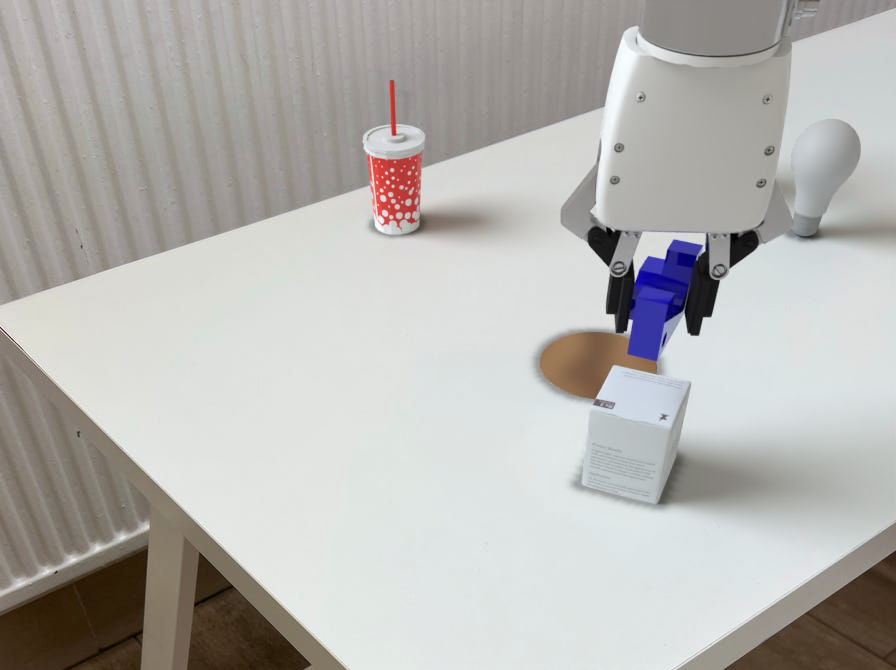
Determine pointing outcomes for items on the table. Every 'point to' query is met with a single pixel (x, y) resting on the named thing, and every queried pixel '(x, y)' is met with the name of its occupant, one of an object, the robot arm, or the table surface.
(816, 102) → the table surface
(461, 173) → the table surface
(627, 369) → the white cardboard box
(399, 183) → the beverage cup
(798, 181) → the lightbulb
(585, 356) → the cork coaster
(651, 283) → the cable holder
